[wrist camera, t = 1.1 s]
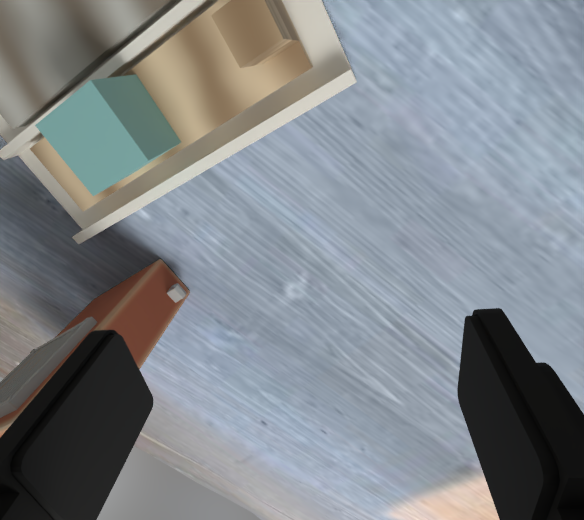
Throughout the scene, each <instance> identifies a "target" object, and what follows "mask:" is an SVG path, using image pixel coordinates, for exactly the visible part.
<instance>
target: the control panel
mask: <svg viewBox="0 0 584 520" xmlns="http://www.w3.org/2000/svg"><path fill="white" fill-rule="evenodd" d="M189 293H190V291H189V290H188V288H187V287H186V286H185V285H184V284H183V283H182V282H181V281H180V279H179V278H178V277H177V276H176V275H175V274H174V273H173V272H172V270H171V269H170V268H169V267H168V266H167V265H166V264H165V263H164V262H163V260H161V259H159V260H157V261H156V262H154V263H152V264H151V265H149V266H147V267H146V268H144V269H143V270H141V271H139V272H138V273H136V274H134V275H133V276H131V277H130V278H128V279H126V280H125V281H123V282H121V283H120V284H118V285H117V286H115V287H113V288H112V289H110V290H108V291H107V292H105V293H103V294H102V295H100V296H99V297H97V298H95V299H94V300H93V301H92V302H91V303H90V304H89V305H88V306H87V307H86V308H85V309H84V310H83V311H82V312H81V313H80V314H79V315H78V316H77V317H75V318H74V319H73V320H72V321H71V322H70V323H69V324H68V325H67V326H66V327H65V328H64V329H63V330H62V331H61V332H60V333H59V334H58V335H57V336H56V337H55V338H54V339H52V340H50V341H48V342H47V343H45V344H43V345H42V346H40V347H38V348H37V349H33V350H32V351H31V352H30V354H29V355H28V356H27V357H26V358H25V359H24V360H23V361H22V362H21V363H20V364H19V365H18V366H17V367H16V368H15V369H14V370H12V371H11V372H10V373H9V374H8V375H7V376H6V377H5V378H4V379H3V380H2V381H1V382H0V437H1V436H2V435H3V434H4V433H5V431H6V430H7V429H8V428H9V427H10V426H11V424H12V423H13V422H14V421H15V420H16V418H17V417H18V416H19V415H20V414H21V413H22V411H23V410H24V409H25V408H26V407H27V406H28V404H29V403H30V402H31V401H32V400H33V399H34V397H35V396H36V395H37V394H38V393H39V392H40V390H41V389H42V388H43V387H44V386H45V384H46V383H47V382H48V381H49V380H50V379H51V377H52V376H53V375H54V374H55V373H56V372H57V370H58V369H59V368H60V367H61V366H62V365H63V363H64V362H65V361H66V360H67V359H68V357H69V356H70V355H71V354H72V353H73V352H74V350H75V349H76V348H77V347H78V346H79V345H80V343H81V342H82V341H83V340H84V339H85V338H86V336H87V335H88V334H89V333H90V332H92V331H94V330H115V331H116V332H117V333H118V334H120V335H121V336H122V337H123V338H124V340H125V342H126V344H127V346H128V348H129V350H130V352H131V354H132V356H133V358H134V360H135V362H136V364H137V366H138V368H139V369H140V368H141V366H142V365H143V363H144V362H145V360H146V359H147V357H148V356H149V354H150V352H151V351H152V349H153V348H154V346H155V345H156V343H157V342H158V340H159V339H160V337H161V336H162V334H163V333H164V331H165V330H166V328H167V327H168V325H169V324H170V322H171V321H172V319H173V318H174V316H175V314H176V313H177V311H178V310H179V308H180V307H181V305H182V304H183V302H184V301H185V299H186V298H187V296H188V295H189Z"/></svg>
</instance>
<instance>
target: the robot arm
mask: <svg viewBox="0 0 584 520" xmlns="http://www.w3.org/2000/svg"><path fill="white" fill-rule="evenodd" d="M458 399H459V404H460V407H461V410H462V413H463V415H464V418H465V421H466V424H467V427H468V430H469V433H470V435H471V438H472V441H473V444H474V447H475V450H476V453H477V456H478V458H479V461H480V464H481V467H482V470H483V473H484V476H485V478H486V481H487V484H488V487H489V490H490V493H491V496H492V499H493V501H494V504H495V507H496V510H497V513H498V516H499V519H500V520H584V414H583V413H582V411H581V410H580V408H579V407H578V405H577V404H576V402H575V401H574V399H573V398H572V396H571V395H570V393H569V392H568V390H567V389H566V387H565V386H564V384H563V383H562V381H561V380H560V379H559V377H558V376H557V374H556V373H555V371H554V370H553V369H552V368H551V366H549V365H548V364H546V363H536V362H535V361H534V359H533V357H532V356H531V354H530V353H529V351H528V349H527V348H526V346H525V345H524V343H523V342H522V340H521V338H520V337H519V335H518V334H517V332H516V331H515V329H514V327H513V326H512V324H511V323H510V321H509V320H508V318H507V316H506V315H505V313H504V312H503V311H502V309H500V308H496V309H478V310H474V312H473V315H472V316H466V318H465V324H464V333H463V343H462V352H461V362H460V371H459V381H458ZM152 407H153V396H152V394H151V392H150V390H149V388H148V386H147V384H146V382H145V380H144V378H143V376H142V374H141V372H140V370H139V368H138V366H137V364H136V362H135V360H134V358H133V356H132V354H131V352H130V350H129V348H128V346H127V344H126V342H125V340H124V338H123V337H122V336H121V335H120V334H118V333H117V332H116V331H115V330H94V331H92V332H90V333H89V334H88V335H87V336H86V338H85V339H84V340H83V341H82V342H81V343H80V345H79V346H78V347H77V348H76V349H75V350H74V352H73V353H72V354H71V355H70V356H69V357H68V359H67V360H66V361H65V362H64V363H63V365H62V366H61V367H60V368H59V369H58V370H57V372H56V373H55V374H54V375H53V376H52V377H51V379H50V380H49V381H48V382H47V383H46V384H45V386H44V387H43V388H42V389H41V390H40V392H39V393H38V394H37V395H36V396H35V397H34V399H33V400H32V401H31V402H30V403H29V404H28V406H27V407H26V408H25V409H24V410H23V411H22V413H21V414H20V415H19V416H18V417H17V418H16V420H15V421H14V422H13V423H12V424H11V426H10V427H9V428H8V429H7V430H6V431H5V433H4V434H3V435H2V436H1V437H0V520H96V519H97V517H98V515H99V513H100V511H101V509H102V507H103V505H104V503H105V501H106V499H107V497H108V495H109V493H110V491H111V489H112V487H113V486H114V484H115V482H116V480H117V477H118V476H119V474H120V471H121V469H122V468H123V466H124V464H125V462H126V459H127V458H128V456H129V453H130V452H131V450H132V448H133V446H134V444H135V442H136V440H137V438H138V436H139V434H140V432H141V430H142V428H143V426H144V424H145V422H146V420H147V418H148V416H149V414H150V412H151V410H152Z"/></svg>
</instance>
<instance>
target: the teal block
mask: <svg viewBox="0 0 584 520" xmlns="http://www.w3.org/2000/svg"><path fill="white" fill-rule="evenodd" d="M35 126H36V127H37V128H38V130H39V131H40V132H41V133H42V135H43V136H44V137H45V138H46V139H47V141H48V142H49V143H50V144H51V146H52V147H53V148H54V149H55V150H56V152H57V153H58V154H59V155H60V157H61V158H62V159H63V160H64V161H65V163H66V164H67V165H68V166H69V168H70V169H71V170H72V171H73V172H74V174H75V175H76V176H77V177H78V178H79V180H80V181H81V182H82V183H83V185H84V186H85V187H86V188H87V189H88V191H89V192H90V193H91V194H92V196H95V195H96V194H98V193H100V192H102V191H103V190H105V189H107V188H109V187H110V186H112V185H114V184H116V183H117V182H119V181H121V180H122V179H124V178H126V177H128V176H129V175H131V174H133V173H134V172H136V171H138V170H139V169H141V168H142V167H144V166H145V165H147V164H148V163H150V162H152V161H153V160H155V159H156V158H158V157H159V156H161V155H163V154H164V153H166V152H167V151H169V150H170V149H172V148H174V147H175V146H177V145H178V144H180V143H181V141H180V139H179V138H178V136H177V135H176V133H175V132H174V130H173V129H172V127H171V126H170V124H169V123H168V121H167V120H166V118H165V117H164V115H163V114H162V112H161V111H160V109H159V108H158V106H157V105H156V103H155V102H154V100H153V99H152V97H151V96H150V94H149V93H148V91H147V90H146V88H145V87H144V85H143V84H142V82H141V81H140V79H139V78H138V76H137V75H136V74H135V75H127V76H119V77H111V78H103V79H95V80H90V81H89V82H87V83H86V84H85V85H84V86H83V87H81V88H80V89H79V90H78V91H76V92H75V93H74V94H73V95H71V96H70V97H69V98H68V99H67V100H65V101H64V102H63V103H62V104H60V105H59V106H58V107H57V108H56V109H54V110H53V111H52V112H51V113H49V114H48V115H47V116H46V117H44V118H43V119H42V120H41V121H40V122H38V123H37V124H36V125H35Z"/></svg>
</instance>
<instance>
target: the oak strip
mask: <svg viewBox="0 0 584 520" xmlns="http://www.w3.org/2000/svg"><path fill="white" fill-rule="evenodd" d="M311 68H313V65H312V63H311V61H310V59H309V56H308V54H307V52H306V50H305V48H304V46H303V44H302V42H301V40H300V37H299V35H298V33H297V31H296V29H295V27H294V25H293V23H292V21H291V18H290V16H289V14H288V12H287V10H286V8H285V6H284V4H283V2H282V0H218V1H217V2H216V3H215V4H213V5H212V6H211V7H210V8H208V9H207V10H206V11H204V12H203V13H202V14H201V15H199V16H198V17H197V18H196V19H194V20H193V21H192V22H190V23H189V24H188V25H187V26H185V27H184V28H183V29H182V30H180V31H179V32H178V33H176V34H175V35H174V36H173V37H171V38H170V39H169V40H167V41H166V42H165V43H164V44H162V45H161V46H160V47H159V48H157V49H156V50H155V51H153V52H152V53H151V54H150V55H148V56H147V57H146V58H145V59H143V60H142V61H141V62H139V63H138V64H137V65H136V66H134V67H133V68H132V69H131V70H129V71H128V72H127V73H125V74H124V75H123V76H127V75H135V74H136V75H137V76H138V78H139V79H140V81H141V82H142V84H143V85H144V87H145V88H146V90H147V91H148V93H149V94H150V96H151V97H152V99H153V100H154V102H155V103H156V105H157V106H158V108H159V109H160V111H161V112H162V114H163V115H164V117H165V118H166V120H167V121H168V123H169V124H170V126H171V127H172V129H173V130H174V132H175V133H176V135H177V136H178V138H179V139H180V141H181V143H180V144H178V145H177V146H175V147H174V148H172V149H170V150H169V151H167V152H166V153H164V154H163V155H161V156H159V157H158V158H156V159H155V160H153V161H152V162H150V163H148V164H147V165H145V166H144V167H142V168H141V169H139V170H138V171H136V172H134V173H133V174H131V175H129V176H128V177H126V178H124V179H122V180H121V181H119V182H117V183H116V184H114V185H112V186H110V187H109V188H107V189H105V190H103V191H102V192H100V193H98V194H96V195H95V196H92V194H91V193H90V192H89V191H88V189H87V188H86V187H85V186H84V185H83V183H82V182H81V181H80V180H79V178H78V177H77V176H76V175H75V174H74V172H73V171H72V170H71V169H70V168H69V166H68V165H67V164H66V163H65V161H64V160H63V159H62V158H61V157H60V155H59V154H58V153H57V152H56V150H55V149H54V148H53V147H52V146H51V144H50V143H49V142H48V141H47V139H46V138H45V137H44V138H43V139H41V140H40V141H39V142H38V143H36V144H35V145H34V146H32V147H31V148H30V150H31V151H32V152H33V153H34V155H35V156H36V157H37V158H38V159H39V160H40V162H41V163H42V164H43V165H44V166H45V168H46V169H47V170H48V171H49V172H50V173H51V175H52V176H53V177H54V178H55V179H56V181H57V182H58V183H59V184H60V185H61V186H62V188H63V189H64V190H65V191H66V192H67V193H68V195H69V196H70V197H71V198H72V199H73V201H74V202H75V203H76V204H77V205H78V206H79V208H80V209H81V210H82V211H85V210H87V209H88V208H90V207H92V206H93V205H95V204H96V203H98V202H100V201H101V200H103V199H104V198H106V197H108V196H109V195H111V194H112V193H114V192H116V191H117V190H119V189H120V188H122V187H123V186H125V185H127V184H128V183H130V182H131V181H133V180H135V179H136V178H138V177H139V176H141V175H143V174H144V173H146V172H147V171H149V170H150V169H152V168H154V167H155V166H157V165H158V164H160V163H162V162H163V161H165V160H166V159H168V158H170V157H171V156H173V155H174V154H176V153H178V152H179V151H181V150H182V149H184V148H185V147H187V146H189V145H190V144H192V143H193V142H195V141H197V140H198V139H200V138H201V137H203V136H205V135H206V134H208V133H209V132H211V131H212V130H214V129H216V128H217V127H219V126H220V125H222V124H224V123H225V122H227V121H228V120H230V119H232V118H233V117H235V116H236V115H238V114H240V113H241V112H243V111H244V110H246V109H247V108H249V107H251V106H252V105H254V104H255V103H257V102H259V101H260V100H262V99H263V98H265V97H267V96H268V95H270V94H271V93H273V92H274V91H276V90H278V89H279V88H281V87H282V86H284V85H286V84H287V83H289V82H290V81H292V80H294V79H295V78H297V77H298V76H300V75H302V74H303V73H305V72H306V71H308V70H309V69H311Z"/></svg>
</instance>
